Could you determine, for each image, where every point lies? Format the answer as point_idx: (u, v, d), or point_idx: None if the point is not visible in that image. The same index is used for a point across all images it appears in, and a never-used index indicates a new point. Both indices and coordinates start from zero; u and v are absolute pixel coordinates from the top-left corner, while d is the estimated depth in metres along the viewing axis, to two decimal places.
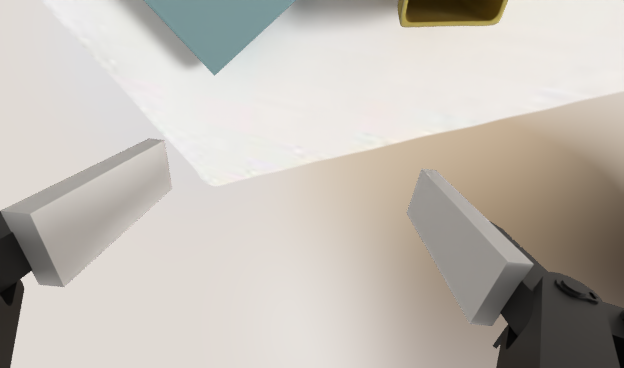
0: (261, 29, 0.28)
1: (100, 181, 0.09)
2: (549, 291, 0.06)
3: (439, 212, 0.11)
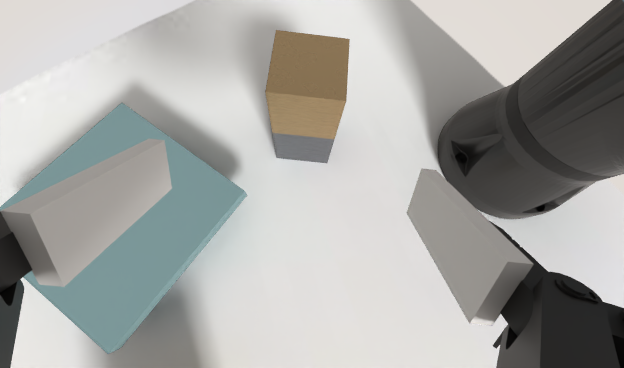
0: (44, 292, 0.20)
1: (100, 181, 0.09)
2: (549, 291, 0.06)
3: (439, 212, 0.11)
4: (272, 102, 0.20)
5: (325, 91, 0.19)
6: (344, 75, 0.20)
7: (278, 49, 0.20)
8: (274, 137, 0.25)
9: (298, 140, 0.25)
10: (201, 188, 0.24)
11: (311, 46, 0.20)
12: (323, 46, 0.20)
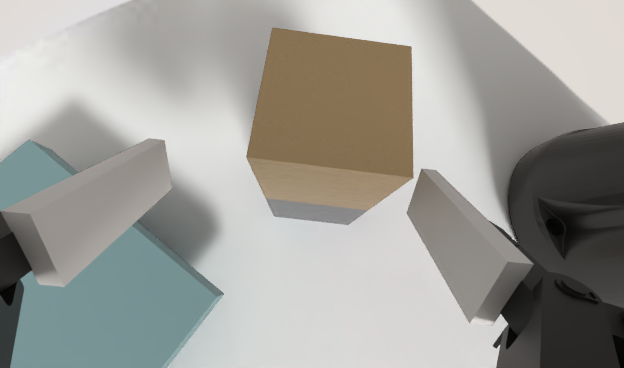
0: None
1: (100, 181, 0.09)
2: (549, 291, 0.06)
3: (440, 212, 0.11)
4: (262, 170, 0.10)
5: (369, 154, 0.09)
6: (406, 120, 0.10)
7: (275, 65, 0.10)
8: (269, 202, 0.16)
9: (307, 207, 0.16)
10: (145, 292, 0.14)
11: (340, 60, 0.10)
12: (363, 60, 0.11)
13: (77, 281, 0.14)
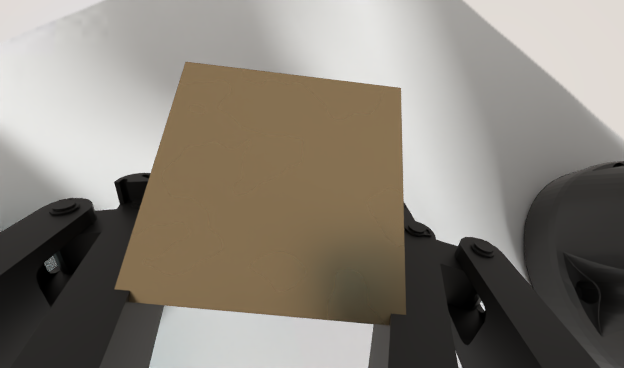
0: None
1: None
2: None
3: None
4: None
5: (331, 284, 0.05)
6: (394, 216, 0.06)
7: (183, 124, 0.06)
8: None
9: None
10: None
11: (288, 113, 0.07)
12: (325, 112, 0.07)
13: None
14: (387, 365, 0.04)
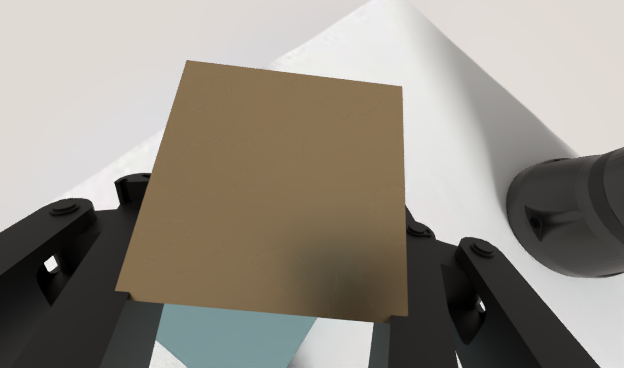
0: (191, 367, 0.23)
1: None
2: None
3: None
4: None
5: (333, 283, 0.05)
6: (395, 214, 0.06)
7: (185, 122, 0.06)
8: None
9: None
10: None
11: (290, 112, 0.07)
12: (326, 111, 0.07)
13: None
14: (387, 365, 0.04)
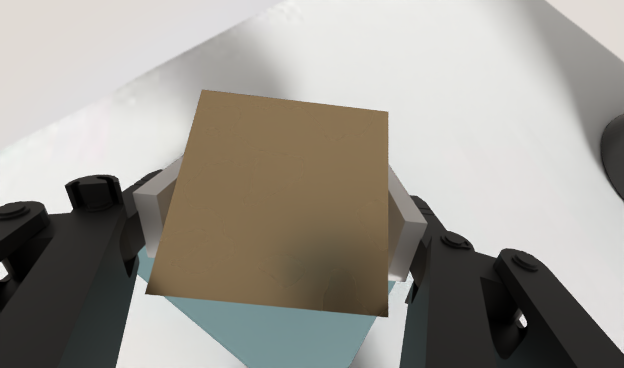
0: (225, 344, 0.16)
1: None
2: (436, 247, 0.07)
3: None
4: None
5: (326, 281, 0.06)
6: (379, 224, 0.07)
7: (201, 145, 0.07)
8: None
9: None
10: None
11: (291, 135, 0.08)
12: (322, 134, 0.08)
13: None
14: None
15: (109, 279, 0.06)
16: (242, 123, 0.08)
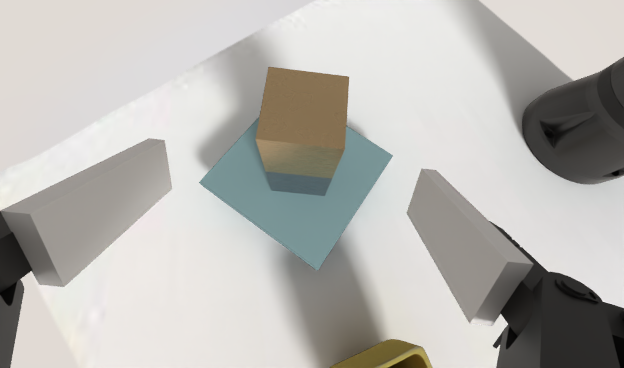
0: (262, 227, 0.27)
1: (100, 181, 0.09)
2: (549, 291, 0.06)
3: (439, 212, 0.11)
4: (263, 147, 0.18)
5: (321, 137, 0.17)
6: (343, 119, 0.18)
7: (270, 89, 0.18)
8: (267, 175, 0.23)
9: (293, 178, 0.24)
10: (360, 153, 0.30)
11: (307, 85, 0.18)
12: (320, 85, 0.18)
13: None
14: None
15: None
16: (286, 80, 0.18)
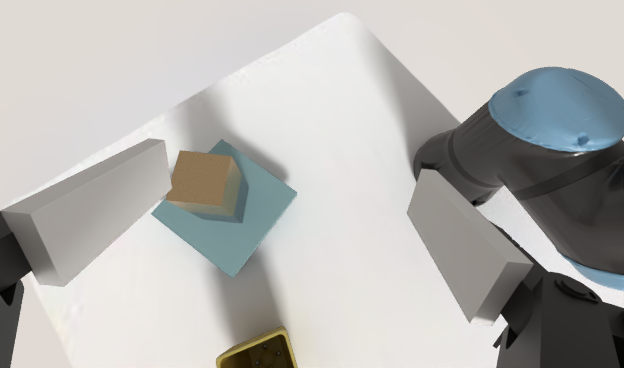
0: (194, 246, 0.38)
1: (100, 181, 0.09)
2: (549, 291, 0.06)
3: (440, 212, 0.11)
4: (174, 203, 0.29)
5: (207, 198, 0.28)
6: (223, 185, 0.28)
7: (179, 166, 0.29)
8: None
9: (209, 215, 0.34)
10: (272, 190, 0.41)
11: (203, 163, 0.29)
12: (211, 162, 0.29)
13: (249, 187, 0.41)
14: None
15: None
16: (190, 160, 0.29)
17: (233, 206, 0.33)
